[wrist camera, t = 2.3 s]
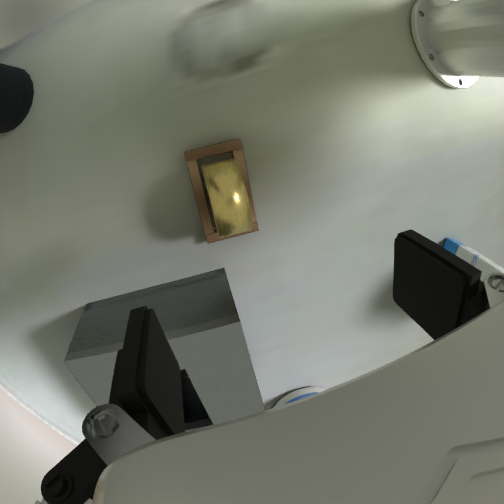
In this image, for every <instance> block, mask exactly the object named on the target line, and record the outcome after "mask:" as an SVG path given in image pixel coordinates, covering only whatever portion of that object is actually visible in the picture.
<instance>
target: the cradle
mask: <svg viewBox="0 0 504 504" xmlns="http://www.w3.org/2000/svg"><path fill="white" fill-rule="evenodd" d="M242 149H243V148H242V144H241V140H240V139H237V140H232V141H228V142H223V143H219V144H214V145H210V146H206V147H202V148H198V149H194V150H190V151H186V152H185V156H186V160H187V164H188V169H189V173H190V177H191V181H192V185H193V189H194V193H195V197H196V201H197V205H198V209H199V213H200V217H201V220H202V224H203V228H204V232H205V236H206V240H207V243H212V242H216V241H220V240H224V239H227V238H231V237H235V236H239V235H243V234H247V233H251V232H254V231H258V230H259V229H258V224H257V221H256V216H255V211H254V205H253V200H252V195H251V190H250V185H249V180H248V175H247V170H246V165H245V160H244V155H243V150H242ZM229 151H232V154H233V158H235V159H236V161H237V163H238V165H239V168H240V170H241V173H242V176H243V180H244V183H245V187H246V191H247V195H248V199H249V204H250V209H251V216H252V230H250V231H246V232H242V233H238V234H234V235H231V236H227V237H223V238H219V235H218V232H217V229H214V230H213V227H212V223H211V219H210V215H209V211H208V207H207V203H206V199H205V195H204V191H203V186H202V182H201V178H200V174H199V170H198V165H197V161H196V159H200V158H204V157H208V156H212V155H216V154H221V153H225V152H229Z"/></svg>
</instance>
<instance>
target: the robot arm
mask: <svg viewBox="0 0 504 504" xmlns="http://www.w3.org/2000/svg"><path fill="white" fill-rule="evenodd" d="M411 30H412V34H413V39H414V42H415V44H416V47H417V50H418V52H419V54H420V56H421V58H422V60H423V61H424V63H425V64H426V66H427V67H428V69H429V70H430V71H431V72H432V74H433V75H434V76H435V77H436V78H437V79H438V80H439V81H441V82H442V83H444V84H445V85H447V86H449V87H452V88H468V87H470V86H472V85H473V84H474V83H475V82H476V80H477V78H478V76H486V77H504V0H417V1H416V3H415V4H414V6H413V8H412V12H411ZM481 273H482V271H480V270H479V269H477V268H476V267H474V266H473V265H471V264H469V263H468V262H466V261H465V260H463V259H461V258H460V257H458V256H456V255H455V254H453V253H451V252H450V251H448V250H446V249H445V248H443V247H441V246H440V245H438V244H436V243H435V242H433V241H431V240H429V239H428V238H426V237H424V236H422V235H421V234H419V233H417V232H415V231H413V230H407V231H404V232H401V233H399V234H398V235H397V238H396V239H395V242H394V280H393V299H394V301H395V303H396V304H397V305H398V306H400V307H401V308H402V309H403V310H404V311H405V312H406V313H407V314H408V315H409V316H410V317H411V318H412V319H413V320H414V321H415V322H416V323H417V324H419V325H420V326H421V327H422V328H423V329H424V330H425V331H426V332H427V333H428V334H429V335H430V336H431V337H432V338H433V339H434V341H433V342H431V343H429V344H427V345H425V346H423V347H421V348H419V349H417V350H415V351H413V352H411V353H409V354H407V355H405V356H403V357H401V358H399V359H397V360H395V361H393V362H391V363H389V364H386V365H384V366H382V367H380V368H378V369H375V370H373V371H371V372H369V373H366V374H364V375H362V376H359V377H357V378H355V379H352V380H350V381H347V382H345V383H342V384H340V385H337V386H335V387H332V388H329V389H327V390H324V391H322V392H319V393H316V394H313V395H311V396H308V397H305V398H302V399H299V400H296V401H293V402H290V403H287V404H284V405H281V406H278V407H275V408H272V409H268V410H265V411H262V412H258V413H255V414H251V415H248V416H244V417H241V418H237V419H234V420H230V421H226V422H222V423H218V424H214V425H210V426H206V427H202V428H198V429H194V430H190V431H186V432H185V424H184V413H183V400H182V385H181V371H180V366H179V364H178V361H177V359H176V357H175V355H174V353H173V351H172V349H171V347H170V345H169V342H168V340H167V338H166V336H165V334H164V332H163V329H162V327H161V325H160V323H159V320H158V318H157V316H156V314H155V311H154V310H153V309H152V308H151V309H148V308H147V306H142V307H139V308H135V309H131V310H130V314H129V319H128V323H127V328H126V333H125V339H124V344H123V349H120V350H119V351H118V353H117V357H116V362H115V367H114V373H113V378H112V384H111V390H110V397H109V403H108V404H103V405H100V406H97V407H96V408H94V409H93V410H91V411H90V412H89V413H88V414H87V416H86V417H85V419H84V421H83V425H82V432H83V434H84V436H85V438H86V439H85V440H83V441H82V442H81V443H80V444H79V445H78V446H77V447H76V448H75V449H73V450H72V451H71V452H70V453H69V454H68V455H67V456H66V457H64V458H63V459H62V460H61V461H60V462H59V463H58V464H57V465H56V466H55V467H53V468H52V469H51V470H50V471H49V472H48V473H47V474H46V475H45V476H44V478H43V480H42V484H41V493H42V496H43V499H42V501H41V502H39V501H38V500H37V501H36V503H35V504H504V274H502V273H491V274H488V275H487V276H485V278H484V281H481V280H480V278H481Z"/></svg>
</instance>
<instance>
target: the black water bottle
mask: <svg viewBox="0 0 504 504" xmlns="http://www.w3.org/2000/svg"><path fill="white" fill-rule="evenodd" d="M33 93H34V91H33V82H32V80H31V78H30V75H29V74H28V73H27V72H26V71H25V70H23V69H20V68H16V67H13V66H9V65H5V64H1V63H0V133H4V132H8V131H10V130H13V129H15V128H16V127H17V126H18V125H19V124H20V123H21V122H22V121H23V120H24V118H25V117H26V115H27V114H28V112H29V109H30V107H31V104H32V100H33Z"/></svg>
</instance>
